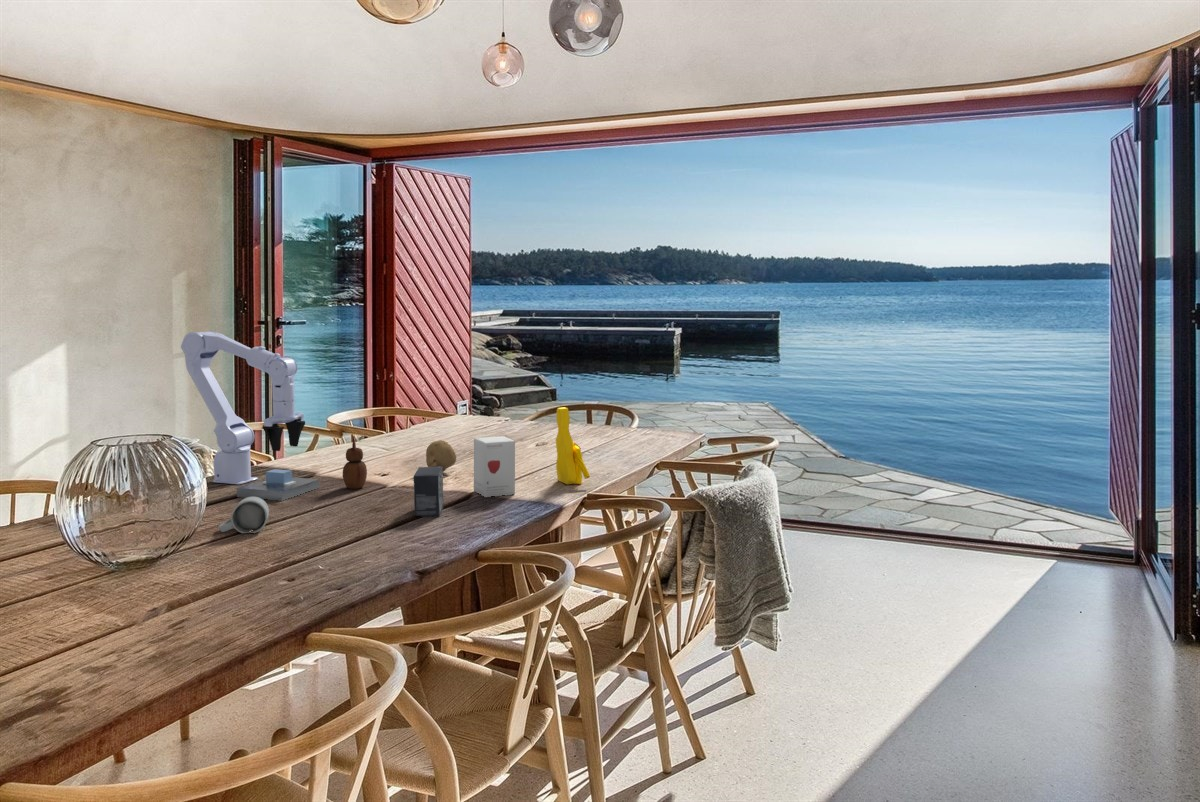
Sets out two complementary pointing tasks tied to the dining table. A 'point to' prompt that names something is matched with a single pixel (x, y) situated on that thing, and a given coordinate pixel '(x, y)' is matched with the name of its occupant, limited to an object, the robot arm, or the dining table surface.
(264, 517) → the ceramic mug
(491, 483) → the supplement box
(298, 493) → the plate
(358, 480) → the wooden figurine
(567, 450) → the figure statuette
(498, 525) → the dining table surface
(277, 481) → the block
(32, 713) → the dining table surface
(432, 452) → the natural sponge
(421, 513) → the small box
